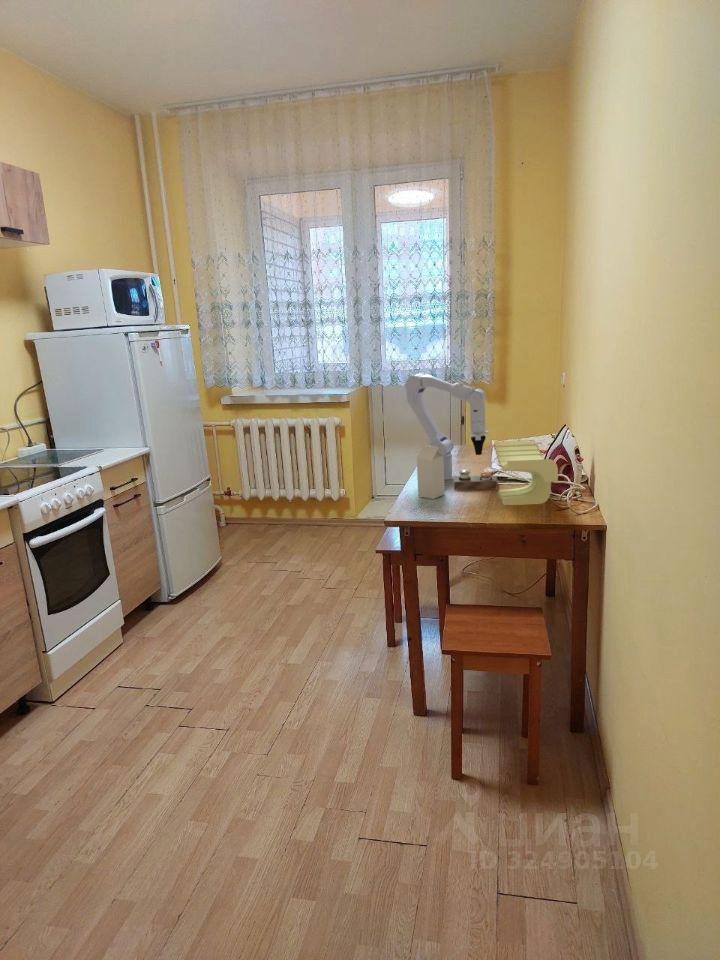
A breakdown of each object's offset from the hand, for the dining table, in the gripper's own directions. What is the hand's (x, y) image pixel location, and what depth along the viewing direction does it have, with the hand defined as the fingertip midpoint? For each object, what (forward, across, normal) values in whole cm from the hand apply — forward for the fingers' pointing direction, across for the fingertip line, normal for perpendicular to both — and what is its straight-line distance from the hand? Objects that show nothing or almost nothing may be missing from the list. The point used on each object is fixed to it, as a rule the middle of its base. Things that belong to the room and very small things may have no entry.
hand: (478, 454), depth 233 cm
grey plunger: (+8, -9, +5) cm, 13 cm away
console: (+10, -9, +2) cm, 14 cm away
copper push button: (+10, -9, -2) cm, 14 cm away
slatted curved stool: (+11, -25, -16) cm, 31 cm away
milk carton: (+10, -21, +18) cm, 29 cm away
